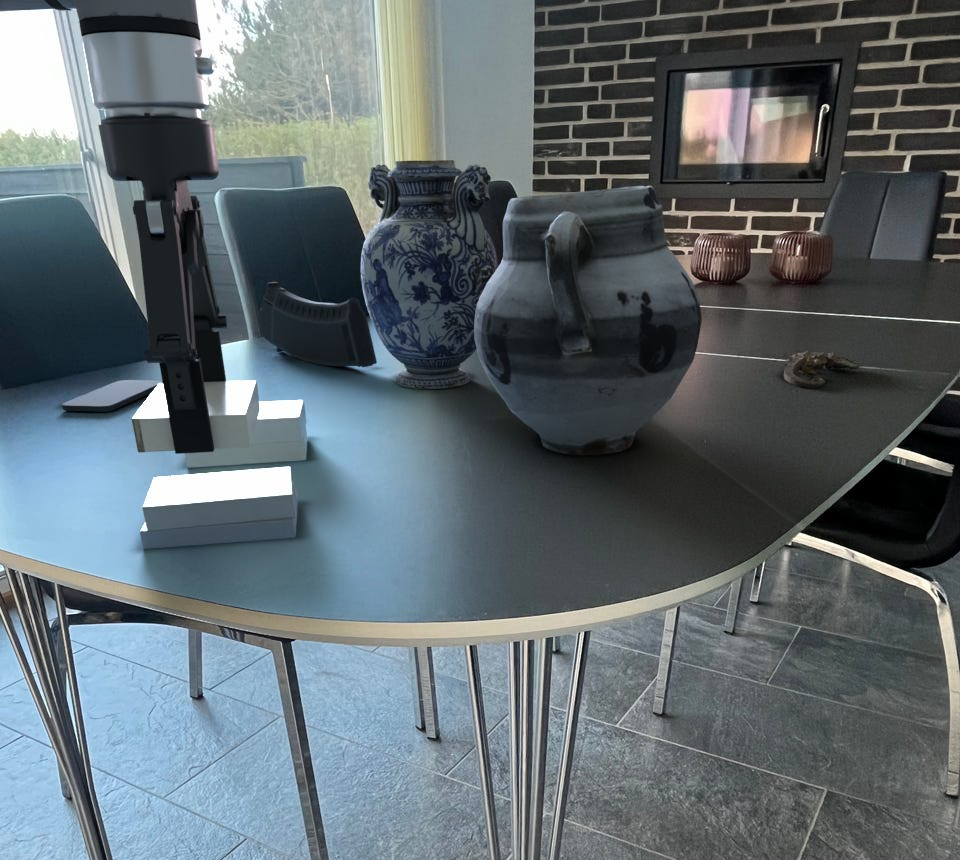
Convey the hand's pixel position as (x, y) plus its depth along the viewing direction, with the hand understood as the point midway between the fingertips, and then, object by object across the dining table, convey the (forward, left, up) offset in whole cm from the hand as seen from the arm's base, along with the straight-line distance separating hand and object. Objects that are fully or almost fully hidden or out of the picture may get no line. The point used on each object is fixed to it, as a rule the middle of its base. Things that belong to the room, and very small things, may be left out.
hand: (205, 429), depth 69 cm
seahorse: (+78, +45, -9) cm, 91 cm away
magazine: (+7, +76, -9) cm, 77 cm away
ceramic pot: (+36, +18, -9) cm, 41 cm away
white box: (0, 0, -9) cm, 9 cm away
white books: (+1, +22, -9) cm, 24 cm away
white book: (0, 0, 0) cm, 0 cm away
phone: (-20, +55, -9) cm, 59 cm away
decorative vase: (+24, +55, -9) cm, 61 cm away
